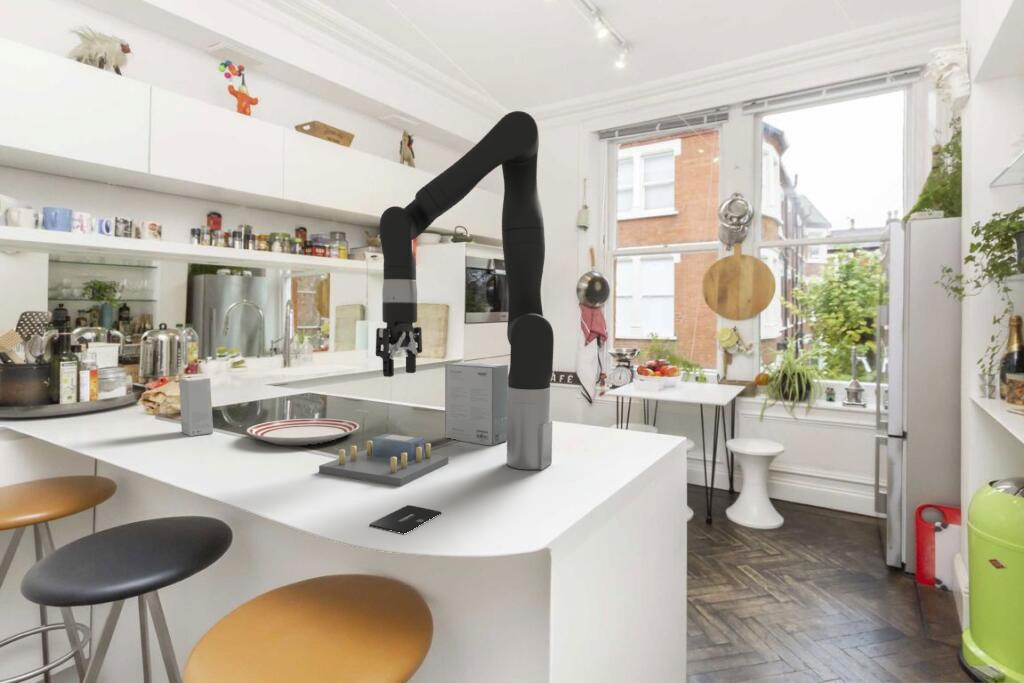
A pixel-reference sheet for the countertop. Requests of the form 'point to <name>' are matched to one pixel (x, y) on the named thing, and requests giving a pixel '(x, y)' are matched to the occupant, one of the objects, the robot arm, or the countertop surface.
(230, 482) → the countertop surface
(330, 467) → the grey peg board
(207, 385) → the skincare box
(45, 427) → the countertop surface
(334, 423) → the dinner plate
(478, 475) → the countertop surface
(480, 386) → the hard drive box
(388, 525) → the solid state drive
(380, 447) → the blue block
